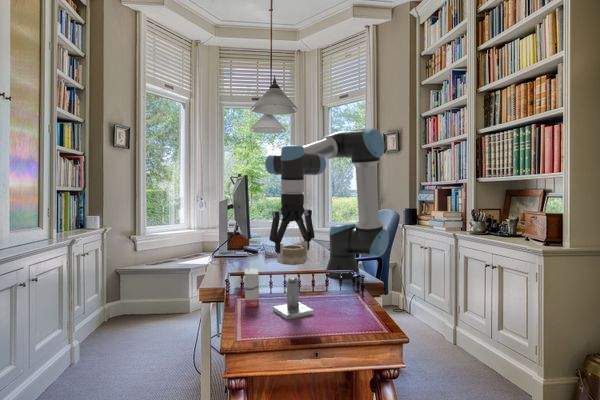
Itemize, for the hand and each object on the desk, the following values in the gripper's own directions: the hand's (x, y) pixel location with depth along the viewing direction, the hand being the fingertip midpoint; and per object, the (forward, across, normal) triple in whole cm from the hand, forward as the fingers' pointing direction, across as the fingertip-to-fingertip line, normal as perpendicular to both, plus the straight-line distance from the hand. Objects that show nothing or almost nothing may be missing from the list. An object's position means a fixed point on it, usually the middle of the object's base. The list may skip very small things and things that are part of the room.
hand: (292, 261), depth 142 cm
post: (+17, 0, 0) cm, 17 cm away
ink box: (+18, +8, -16) cm, 25 cm away
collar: (0, 0, 0) cm, 0 cm away
